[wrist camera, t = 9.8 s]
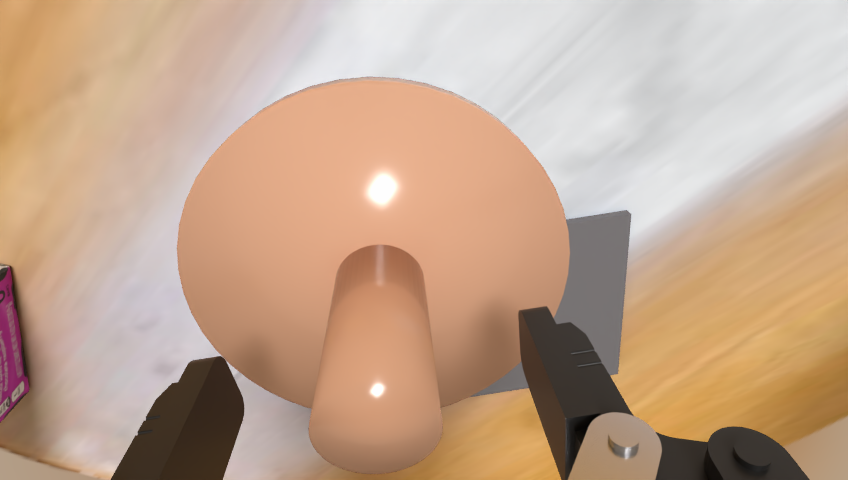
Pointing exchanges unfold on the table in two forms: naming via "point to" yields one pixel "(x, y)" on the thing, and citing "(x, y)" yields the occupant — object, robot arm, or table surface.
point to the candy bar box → (10, 348)
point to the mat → (590, 290)
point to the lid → (371, 259)
